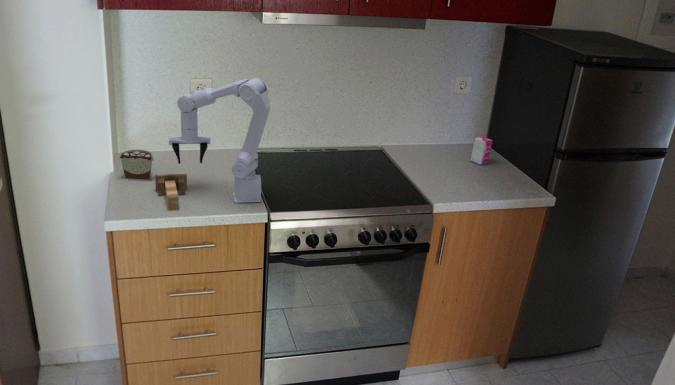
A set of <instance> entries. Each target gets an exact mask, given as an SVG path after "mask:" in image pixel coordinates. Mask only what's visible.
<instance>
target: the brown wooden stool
mask: <svg viewBox="0 0 675 385" xmlns="http://www.w3.org/2000/svg"><path fill="white" fill-rule="evenodd" d="M187 174H188V173H174V174H173V173H170V174H169V173H168V174H167V173H166V174H163V173H162V174H155V175H154V180H155V182H154V183H155V192H158V196H159V197H163V196H165V181H170V180H175V184H176V188H177V191H178V196H184V195H185V196H186V194H185V191H188V175H187Z"/></svg>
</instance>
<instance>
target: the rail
mask: <svg viewBox="0 0 675 385" xmlns="http://www.w3.org/2000/svg"><path fill="white" fill-rule="evenodd" d="M164 196H165V200H166V206H167V210H168V211H176V210H177V211H178V210H179V209H180V208H179V202H180V201H179V192H178V190H177V188H176V184H175V180H170V181H165V191H164Z"/></svg>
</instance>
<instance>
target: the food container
mask: <svg viewBox="0 0 675 385" xmlns="http://www.w3.org/2000/svg"><path fill="white" fill-rule="evenodd" d="M118 159H119V160H121V161H120V162H121V165H122V170H123V178H124V180H133V181H149V182H150V181H151V179H152V165H153V164H152V163H153V162H154V160H155V158H154V155H153V153H152V152H150V151H149V150H146V149H130V150H125V151H123V152H121V153H120V155H119V158H118Z"/></svg>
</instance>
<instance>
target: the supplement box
mask: <svg viewBox="0 0 675 385" xmlns="http://www.w3.org/2000/svg"><path fill="white" fill-rule="evenodd" d="M493 141H494V140H493V139H490V138H488V137H486V136H479V137H475V139H474V143H473V146H472V152H471V157H470V161H471V163H473V164H475V163H476V164H475V165H477V164H478V166H484V165H487V164H488V162H489V158H490V155H491V150H492V145H493ZM470 161H469V162H470Z"/></svg>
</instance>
